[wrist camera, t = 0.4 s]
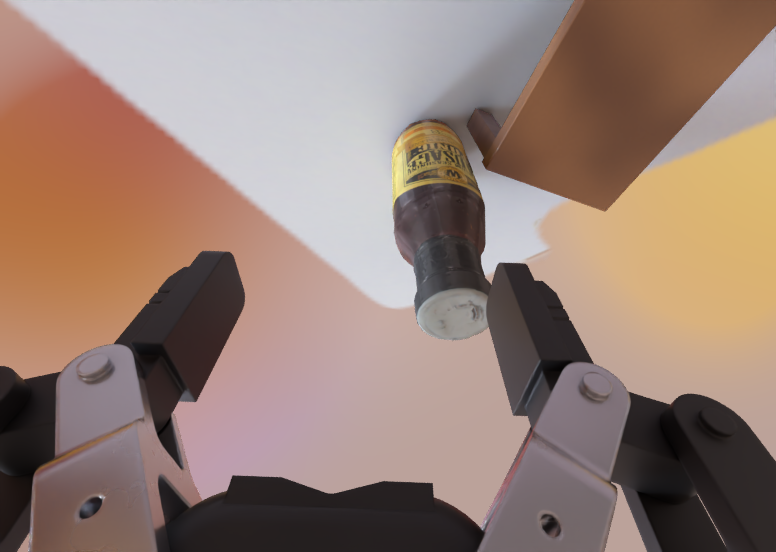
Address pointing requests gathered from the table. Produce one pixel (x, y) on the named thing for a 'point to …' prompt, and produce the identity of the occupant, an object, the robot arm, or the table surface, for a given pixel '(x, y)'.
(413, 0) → the table surface
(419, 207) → the sauce bottle
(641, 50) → the small brown wooden table
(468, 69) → the table surface
